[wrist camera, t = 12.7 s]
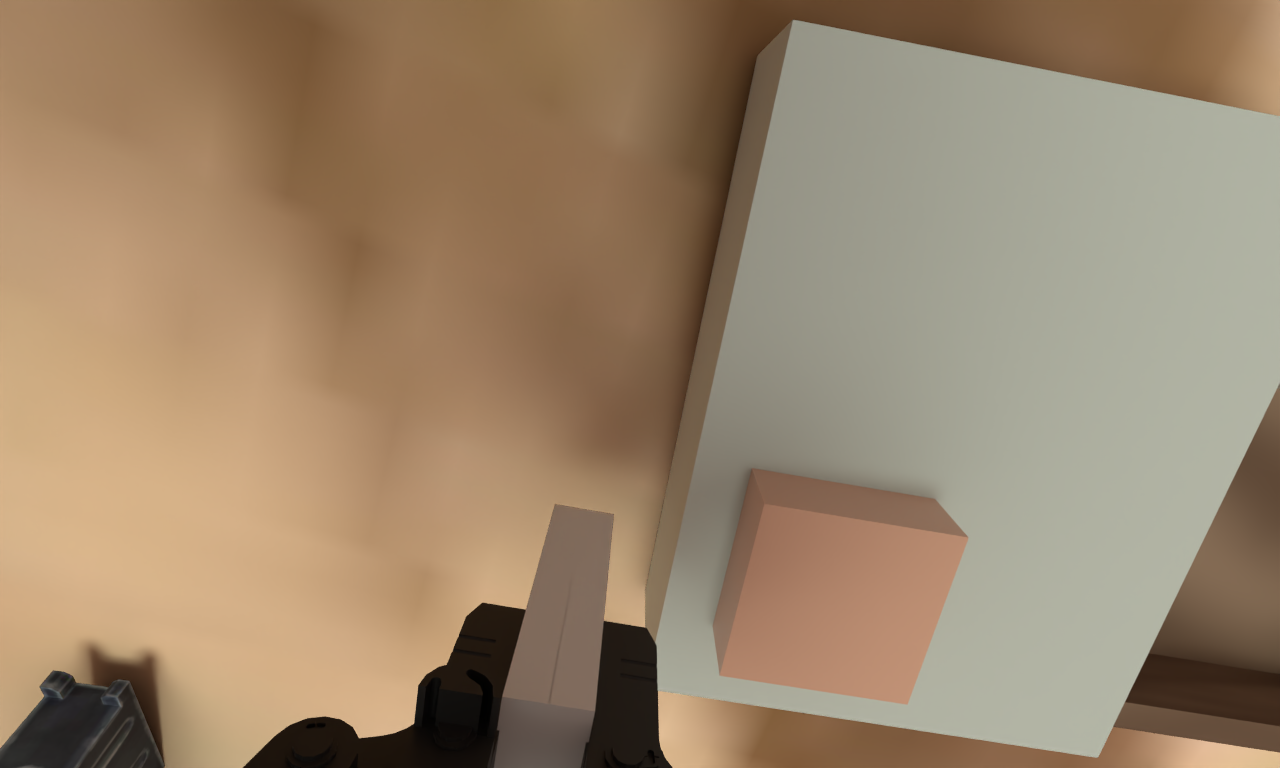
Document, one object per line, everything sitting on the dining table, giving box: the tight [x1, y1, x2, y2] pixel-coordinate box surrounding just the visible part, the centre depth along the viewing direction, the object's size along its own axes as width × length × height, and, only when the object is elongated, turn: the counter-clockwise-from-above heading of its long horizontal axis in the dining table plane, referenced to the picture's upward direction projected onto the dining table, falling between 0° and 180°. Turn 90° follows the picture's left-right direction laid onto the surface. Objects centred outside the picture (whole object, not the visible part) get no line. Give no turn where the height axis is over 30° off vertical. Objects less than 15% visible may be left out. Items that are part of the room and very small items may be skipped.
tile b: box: [713, 468, 969, 705], centre depth 18 cm, size 5×5×2 cm
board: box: [645, 20, 1280, 758], centre depth 20 cm, size 18×14×5 cm
